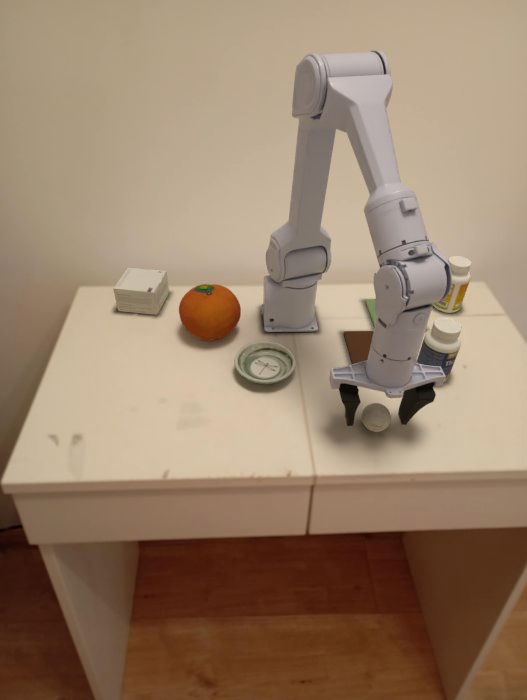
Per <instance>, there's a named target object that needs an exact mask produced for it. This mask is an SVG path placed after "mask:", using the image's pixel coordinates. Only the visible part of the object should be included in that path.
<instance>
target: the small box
mask: <svg viewBox="0 0 527 700" xmlns="http://www.w3.org/2000/svg"><path fill="white" fill-rule="evenodd" d="M169 286H170V285H169V280H168V272H167V270H162V269H149V268H137V267H127V268H126V270H125V271H124V272H123V274H122V275H121V276H120V278H119V280H118V281H117V283H116V284H115V286H114V287H113V289H112V290H113V293H114V298H115V303H116V308H117V311H118V312H124V313H133V314H142V315H143V314H145V315H155V316H157V315H158V314H159V313H160V311H161V310H162V307H163V305H164V303H165V301H166V300H167V297H168V296H169V294H170V287H169Z"/></svg>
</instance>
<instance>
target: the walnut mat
mask: <svg viewBox="0 0 527 700" xmlns="http://www.w3.org/2000/svg"><path fill="white" fill-rule="evenodd" d="M373 333H374V330H344V331H343V336H344V341H345V343H346V347H347V351H348V354H349V357H350V360H351V365H352V364H355V363H359V362H362V361H366V360H368V355H369V351H370V346H371V342H372V337H373Z"/></svg>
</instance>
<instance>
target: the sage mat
mask: <svg viewBox="0 0 527 700" xmlns="http://www.w3.org/2000/svg"><path fill="white" fill-rule="evenodd" d="M375 302H376V298H365V300H364V303H365V305H366V309H367V310H368V313H369V316H370V318H371V321H372V324H373V326H374V328H375V323H376V319H377V315H376V313H375V308H374V307H375Z"/></svg>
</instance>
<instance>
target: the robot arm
mask: <svg viewBox="0 0 527 700" xmlns="http://www.w3.org/2000/svg"><path fill="white" fill-rule="evenodd" d="M393 88H394V81H393V79H392V72H391V67H390V63H389V60H388V58H387V56H386V54H385V53H384V52H383V51H381V50H378V49H375V50H373V49H372V50H370V51H359V52H357V51H355V52H335V53H317V52H309V53H307V54H305V55H304V57H303V58H302V59H301V60H300V61H299V62H298V63H297V65H296V67H295V72H294V83H293V91H292V93H293V94H292V103H291V108H292V109H291V117H292V118H293V119H297V120H298V127H297V135H296V144H295V145H296V146H295V153H294V163H293V173H292V181H291V182H292V183H291V191H290V192H291V193H290V202H289V212H288V220H287V221H286V222H285V223H284V224H282V225H281V226H280V227H279V228H277V229H276V230H274V231H273V232H272V233H271V234H270V239H269V244H268V247H267V249H266V252H265V265H266V269H267V272H268V273H267V274H268V275H264V276H263V291H262V292H263V293H262V296H263V297H262V304H261V315H263V326H264V327H263V329H264V331H265V332H267V333H289V332H290V333H291V332H292V333H293V332H294V333H296V332H317V331H318V330H319V326H318V322H317V317H316V313H315V309H316V299H317V290H318V281H322V279H323V274H326V273H327V272H328V271H329V269H330V267H331V265H332V251H331V249H332V238H331V236H330V234H329V233H328V231H327V230H326V228H324V227H323V226H321V225H322V220H323V213H324V208H325V207H324V206H325V202H326V194H327V189H328V183H329V182H328V181H329V175H330V169H331V163H332V157H333V151H334V145H335V138H336V134H337V133H336V132H337V131H340V132H343V133H346V134H347V137H348V140H349V143H350V146H351V148H352V151H353V154H354V156H355V159H356V161H357V164H358V167H359V170H360V172H361V176H363V180H364V183H365V185H366V188H367V191H368V194H369V196H368V199H367V201H366V203H365V205H364V208H363V213H364V216H365V220H366V223H367V227H368V231H369V236H370V238H371V242H372V245H373V249H374V252H375V256H376V259H377V264H378V266H379V268H378V270H377V272H374V273H373V290H374V294H375V299H376V302H375V307H374V308H375V313H376V315H377V319H376V323H375V327H374V329H373V331H374V333H373V337H372V342H371V346H370V351H369V355H368V360H366V361H362V362H359V363H355V364H352V363H351V364H349V365H345V366H344V365H343V366H340V367H331V368H330V371H329V384H330V389H331V390H338V392H339V396H340V399H341V402H342V404H343V407H344V418H345V423H346V426H347V427H353V426H354V423H355V418H356V412H357V410H358V408H359V405H360V404H361V398H360V395H359V391H360V390H359V387H360V388H364V389H368V390H373V391H376V392H382V393H384V394H385V396H386V398H388V399H401V400H400V403H399V407H398V412H397V415H398V418H399V421H400V424H401V426H407V424H408V423H409V422H410V421H411V420H412V418H413V417H414V416H415V415H416V414H417V413H418V412H419V411H420V410H422V408H424V407H425V406H427V405H429V404H431V403H433V402H434V401H435V399H436V396H437V395H436V391H435V389H434V388H442V387H443V385H444V383H445V381H444V380H445V377H446V376H445V374H444V372H443V370H442V368H441V366H428V365H423V364H418V363H416V362H417V359H418V356H419V353H420V349H421V346H422V343H423V340H424V337H425V334H426V330H427V327H428V323H429V320H430V318H431V317H430V316H431V313H432V311H433V307H434V306H433V304H434V303H437V302H438V301H442V300H444V299H445V298H446V297H447V296H448V294H449V292H450V290H451V286H452V274H451V269H450V264H449V262H448V258H447V257H446V256H445V255H444V254H443V253H442V252H440V251H439V250H438V247H437V244H435V243H434V242H433V241H430V240H429V236H428V232H427V229H426V225H425V222H424V218H423V216H422V211H421V208H420V204H419V201H418V197H417V194H416V192H415V190H413V189H411V188H410V187H408V186H406V185H405V184H402V180H401V176H400V175H401V174H400V171H399V167H398V161H397V156H396V155H397V154H396V151H395V145H394V140H393V136H392V135H393V134H392V130H391V125H390V121H389V120H390V119H389V115H388V110H387V108H388V107H389V104H390V100H391V97H392V93H393Z"/></svg>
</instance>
